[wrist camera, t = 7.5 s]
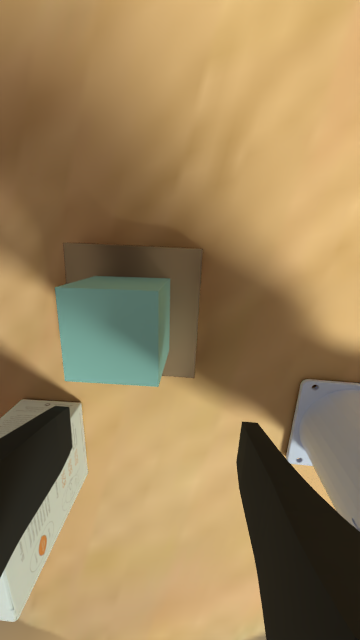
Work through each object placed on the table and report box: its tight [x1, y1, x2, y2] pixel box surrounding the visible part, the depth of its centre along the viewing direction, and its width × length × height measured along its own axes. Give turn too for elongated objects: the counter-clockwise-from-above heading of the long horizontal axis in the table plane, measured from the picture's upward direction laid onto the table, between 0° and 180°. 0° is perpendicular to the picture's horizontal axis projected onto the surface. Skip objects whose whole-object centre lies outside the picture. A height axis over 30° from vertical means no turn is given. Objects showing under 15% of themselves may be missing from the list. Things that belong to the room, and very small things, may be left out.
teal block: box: [55, 276, 170, 387], centre depth 15 cm, size 5×5×5 cm
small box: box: [0, 399, 88, 621], centre depth 19 cm, size 8×6×10 cm
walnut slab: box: [63, 243, 203, 378], centre depth 19 cm, size 9×9×3 cm
